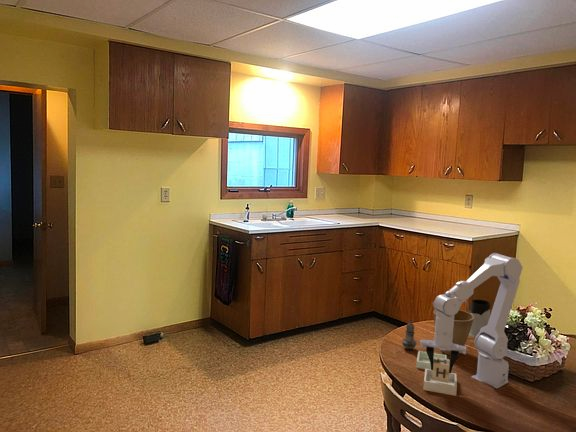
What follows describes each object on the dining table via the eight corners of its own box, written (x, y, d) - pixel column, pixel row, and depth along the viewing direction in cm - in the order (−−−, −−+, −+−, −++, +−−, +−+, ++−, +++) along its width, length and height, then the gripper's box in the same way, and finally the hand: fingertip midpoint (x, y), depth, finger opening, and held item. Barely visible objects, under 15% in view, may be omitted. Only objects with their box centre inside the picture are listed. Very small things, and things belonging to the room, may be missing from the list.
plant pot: (423, 351, 185) (426, 312, 183) (443, 342, 195) (446, 305, 193) (458, 364, 174) (461, 322, 172) (477, 354, 184) (480, 315, 182)
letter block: (432, 373, 159) (434, 356, 158) (448, 376, 158) (449, 359, 157) (432, 380, 154) (433, 362, 154) (448, 383, 153) (449, 365, 152)
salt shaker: (416, 353, 182) (418, 324, 181) (401, 352, 183) (403, 322, 182) (415, 348, 188) (417, 319, 186) (400, 346, 189) (402, 318, 188)
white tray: (455, 382, 159) (456, 373, 159) (456, 395, 150) (456, 386, 149) (424, 376, 163) (425, 368, 162) (423, 389, 153) (423, 381, 153)
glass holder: (483, 340, 199) (486, 306, 197) (452, 330, 209) (455, 298, 207) (492, 335, 205) (495, 302, 203) (462, 326, 215) (464, 295, 213)
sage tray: (445, 362, 175) (446, 355, 174) (445, 374, 165) (446, 366, 165) (417, 358, 178) (418, 350, 178) (416, 369, 168) (416, 361, 168)
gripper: (420, 332, 152) (417, 371, 154) (467, 338, 148) (464, 379, 149) (421, 325, 159) (419, 363, 161) (466, 331, 154) (463, 370, 156)
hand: (440, 370), depth 156 cm, fingers closed on letter block, 5 cm apart
